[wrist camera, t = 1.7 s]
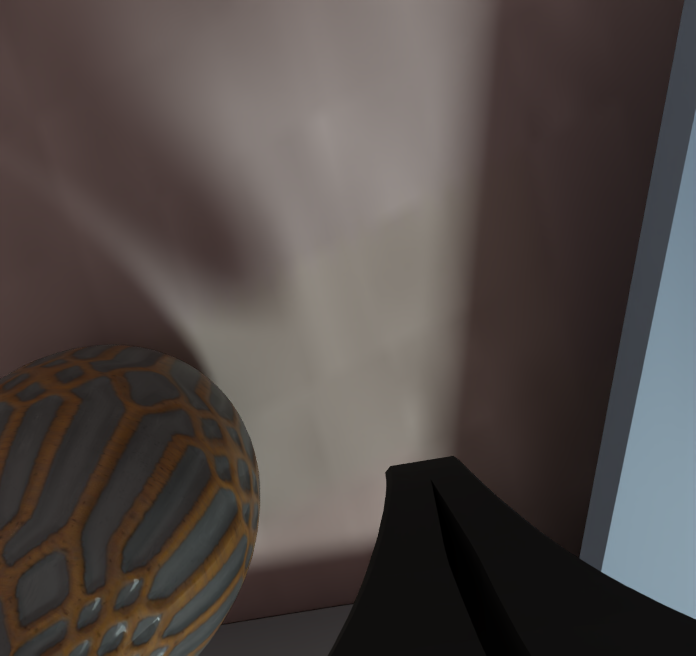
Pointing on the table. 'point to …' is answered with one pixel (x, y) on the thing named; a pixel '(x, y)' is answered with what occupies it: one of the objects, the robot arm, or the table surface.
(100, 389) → the vase
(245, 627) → the grey u-channel
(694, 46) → the cover
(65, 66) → the table surface
